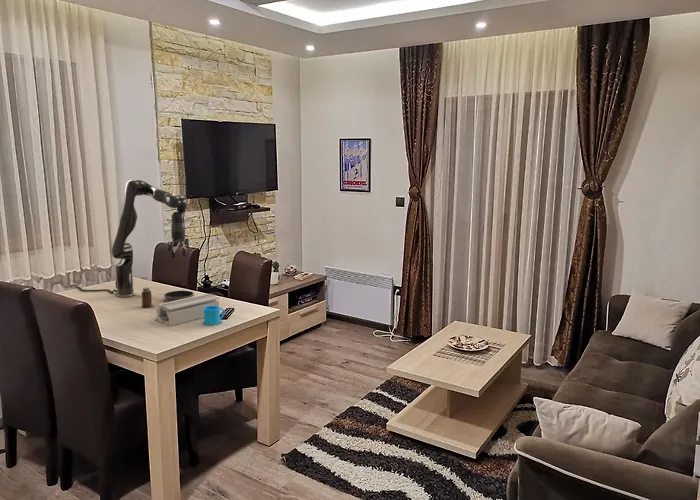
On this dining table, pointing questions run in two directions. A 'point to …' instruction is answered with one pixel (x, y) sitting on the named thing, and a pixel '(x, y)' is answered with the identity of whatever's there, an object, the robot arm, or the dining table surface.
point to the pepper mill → (146, 298)
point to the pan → (177, 295)
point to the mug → (212, 315)
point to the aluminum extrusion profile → (185, 309)
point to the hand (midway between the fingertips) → (178, 257)
